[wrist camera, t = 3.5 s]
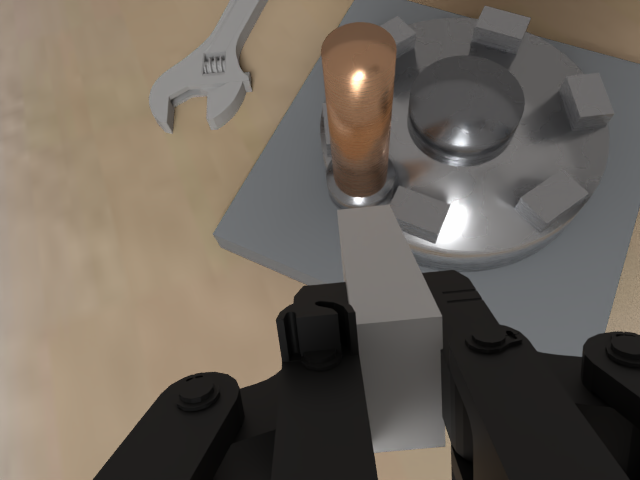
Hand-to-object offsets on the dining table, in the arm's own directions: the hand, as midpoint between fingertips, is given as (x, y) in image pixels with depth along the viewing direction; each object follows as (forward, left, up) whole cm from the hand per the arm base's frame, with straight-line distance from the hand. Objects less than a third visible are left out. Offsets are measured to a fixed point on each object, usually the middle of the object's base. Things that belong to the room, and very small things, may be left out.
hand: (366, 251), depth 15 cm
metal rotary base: (0, -14, -14) cm, 20 cm away
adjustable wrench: (+19, -21, -17) cm, 33 cm away
